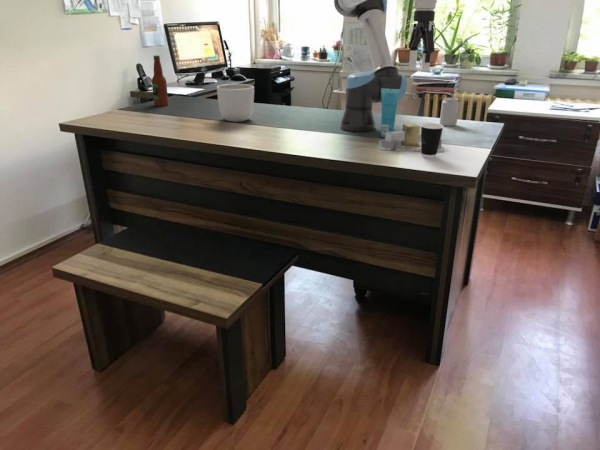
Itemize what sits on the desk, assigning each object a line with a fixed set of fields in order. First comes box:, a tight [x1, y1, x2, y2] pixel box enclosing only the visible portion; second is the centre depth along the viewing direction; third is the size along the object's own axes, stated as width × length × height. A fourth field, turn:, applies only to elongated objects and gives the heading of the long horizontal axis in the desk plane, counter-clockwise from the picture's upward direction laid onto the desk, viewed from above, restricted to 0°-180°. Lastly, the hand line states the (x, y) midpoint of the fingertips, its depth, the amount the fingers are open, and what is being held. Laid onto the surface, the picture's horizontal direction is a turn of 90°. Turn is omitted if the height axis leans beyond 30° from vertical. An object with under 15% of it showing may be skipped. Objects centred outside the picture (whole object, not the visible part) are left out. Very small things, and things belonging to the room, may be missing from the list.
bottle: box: [151, 55, 169, 107], centre depth 258 cm, size 7×7×25 cm
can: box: [439, 97, 460, 127], centre depth 224 cm, size 8×8×12 cm
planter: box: [216, 83, 255, 123], centre depth 228 cm, size 17×17×15 cm
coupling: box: [401, 123, 421, 145], centre depth 190 cm, size 5×5×7 cm
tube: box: [380, 88, 400, 138], centre depth 200 cm, size 7×5×19 cm, turn 83°
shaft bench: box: [378, 129, 444, 153], centre depth 188 cm, size 23×14×6 cm, turn 84°
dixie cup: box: [420, 122, 445, 159], centre depth 175 cm, size 8×8×11 cm
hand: (418, 69), depth 192 cm, fingers open, 13 cm apart
